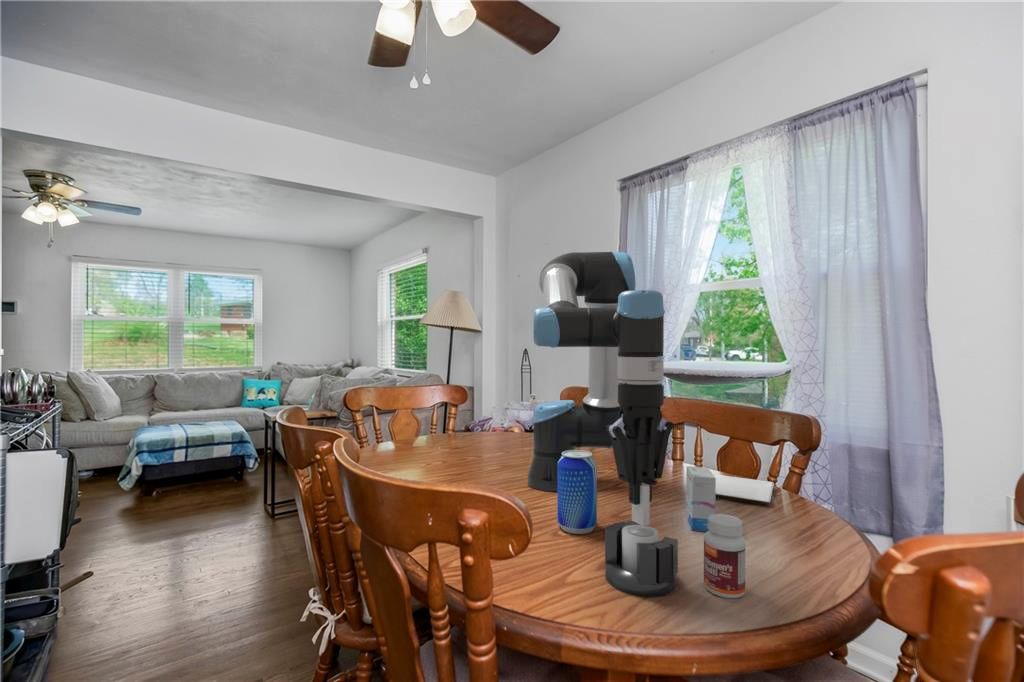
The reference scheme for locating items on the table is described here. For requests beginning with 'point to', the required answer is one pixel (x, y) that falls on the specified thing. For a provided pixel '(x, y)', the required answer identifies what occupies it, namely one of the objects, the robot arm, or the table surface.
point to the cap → (635, 544)
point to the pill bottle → (724, 556)
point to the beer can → (577, 492)
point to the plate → (743, 489)
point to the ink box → (699, 497)
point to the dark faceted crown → (641, 564)
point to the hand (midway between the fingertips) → (640, 522)
